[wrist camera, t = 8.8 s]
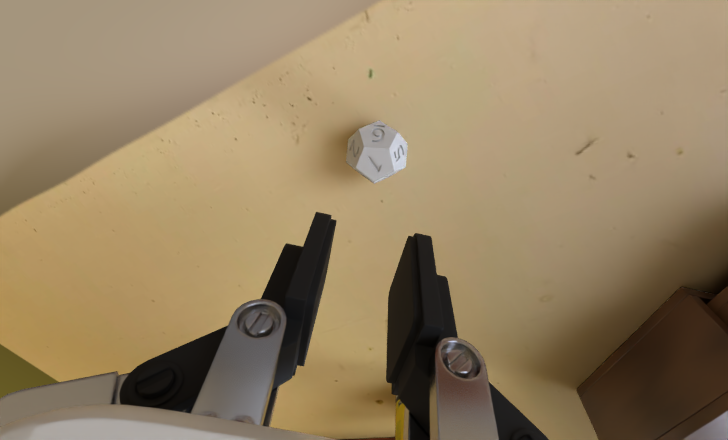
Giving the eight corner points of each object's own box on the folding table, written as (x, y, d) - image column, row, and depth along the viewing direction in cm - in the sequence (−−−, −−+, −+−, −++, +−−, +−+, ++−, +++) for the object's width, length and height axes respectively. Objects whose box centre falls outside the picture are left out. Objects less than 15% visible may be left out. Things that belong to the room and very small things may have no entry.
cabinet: (680, 286, 26) (773, 381, 19) (833, 319, 26) (971, 421, 20) (575, 389, 34) (616, 480, 28) (694, 413, 34) (761, 507, 28)
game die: (386, 103, 20) (385, 118, 18) (416, 154, 22) (419, 174, 19) (338, 133, 21) (330, 152, 19) (369, 179, 23) (366, 202, 20)
